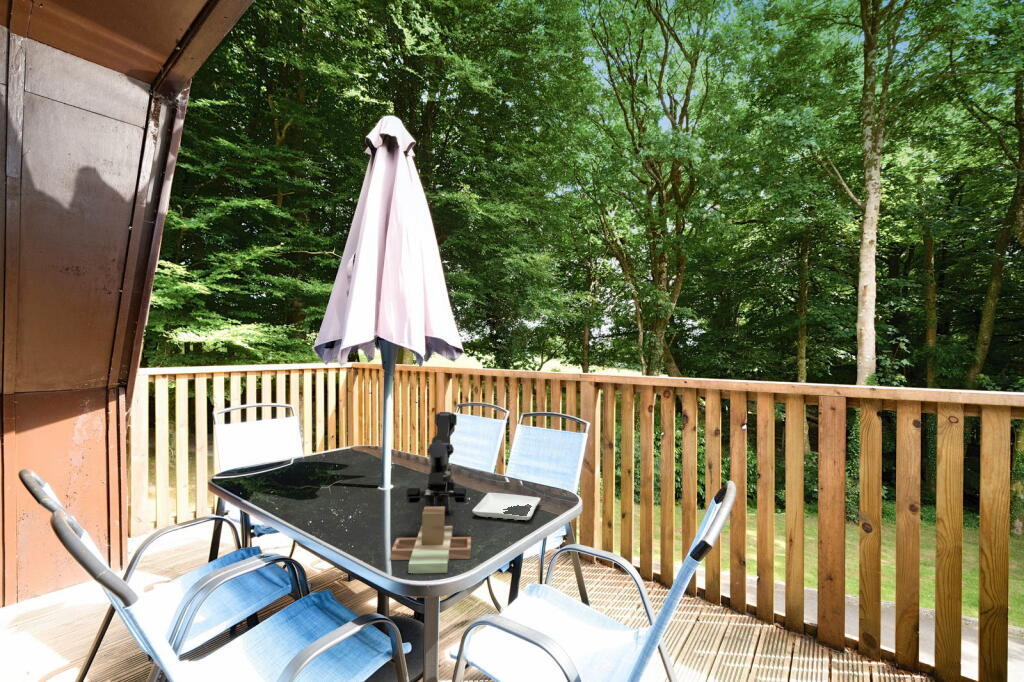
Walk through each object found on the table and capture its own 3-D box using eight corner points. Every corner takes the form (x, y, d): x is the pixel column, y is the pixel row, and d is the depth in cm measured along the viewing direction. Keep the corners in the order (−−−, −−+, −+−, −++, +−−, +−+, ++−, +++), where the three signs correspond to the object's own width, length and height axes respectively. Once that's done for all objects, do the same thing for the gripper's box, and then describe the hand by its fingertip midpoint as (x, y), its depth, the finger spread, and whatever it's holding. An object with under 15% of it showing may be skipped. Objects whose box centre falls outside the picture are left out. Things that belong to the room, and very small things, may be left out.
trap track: (401, 534, 146) (401, 526, 146) (471, 533, 148) (471, 525, 148) (385, 574, 120) (385, 564, 120) (469, 572, 122) (469, 562, 122)
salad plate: (530, 526, 156) (530, 515, 156) (470, 519, 161) (471, 510, 161) (541, 505, 176) (541, 496, 176) (488, 500, 181) (488, 492, 181)
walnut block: (424, 536, 138) (424, 506, 138) (444, 536, 139) (444, 506, 139) (421, 545, 132) (422, 513, 132) (442, 544, 133) (443, 513, 133)
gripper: (407, 461, 145) (400, 508, 133) (467, 461, 146) (465, 507, 135) (410, 479, 152) (404, 525, 141) (467, 479, 154) (465, 525, 142)
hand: (434, 520), depth 140 cm, fingers closed
